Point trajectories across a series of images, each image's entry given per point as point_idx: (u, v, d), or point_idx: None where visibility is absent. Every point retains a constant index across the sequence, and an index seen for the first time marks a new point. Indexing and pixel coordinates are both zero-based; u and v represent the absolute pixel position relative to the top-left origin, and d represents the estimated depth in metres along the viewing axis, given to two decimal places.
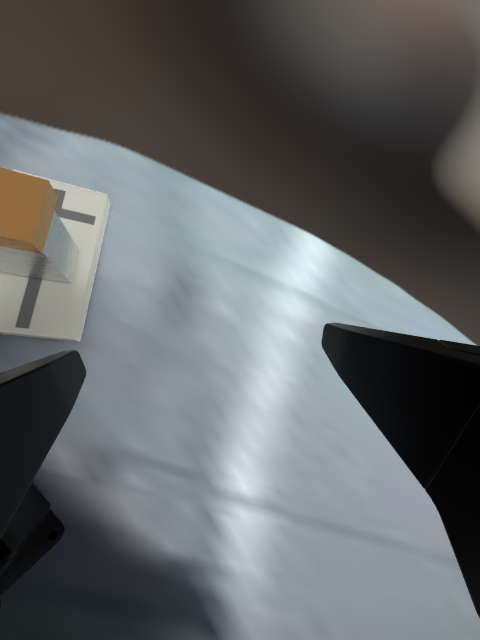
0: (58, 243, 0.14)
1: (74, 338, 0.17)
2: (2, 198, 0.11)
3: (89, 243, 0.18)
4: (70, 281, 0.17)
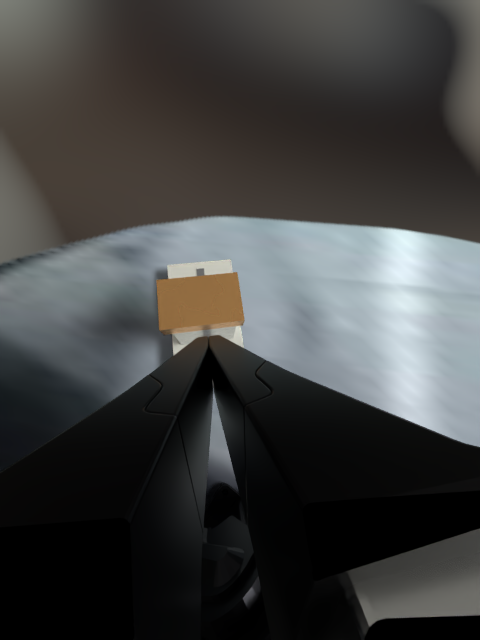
0: None
1: None
2: (217, 295, 0.15)
3: None
4: (233, 336, 0.21)
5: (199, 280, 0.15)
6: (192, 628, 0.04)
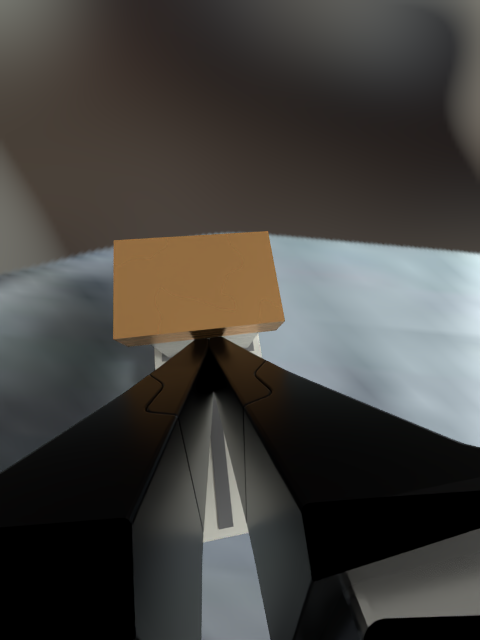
0: None
1: None
2: (231, 272, 0.08)
3: None
4: (247, 346, 0.14)
5: (197, 243, 0.08)
6: (193, 628, 0.04)
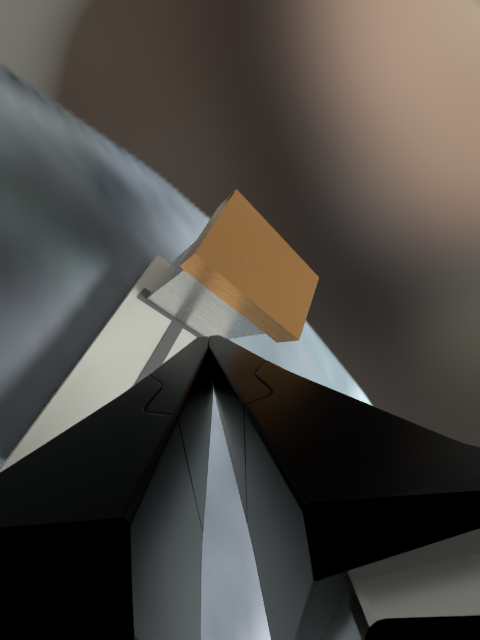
0: None
1: None
2: (288, 282, 0.10)
3: None
4: None
5: (281, 245, 0.10)
6: (192, 628, 0.04)
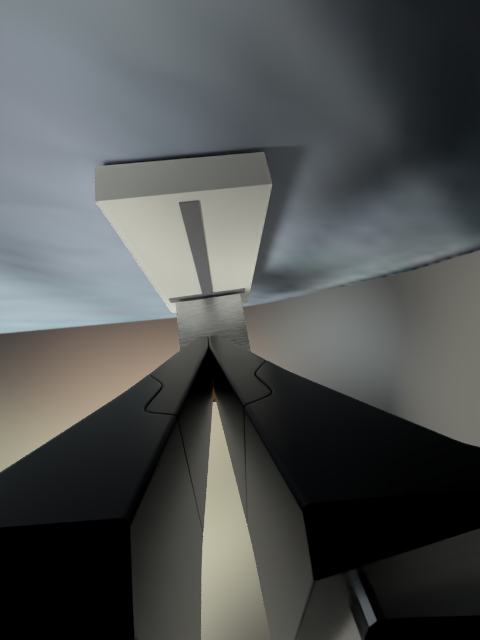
0: None
1: (97, 200, 0.08)
2: None
3: (162, 288, 0.15)
4: (176, 307, 0.16)
5: None
6: (192, 628, 0.04)
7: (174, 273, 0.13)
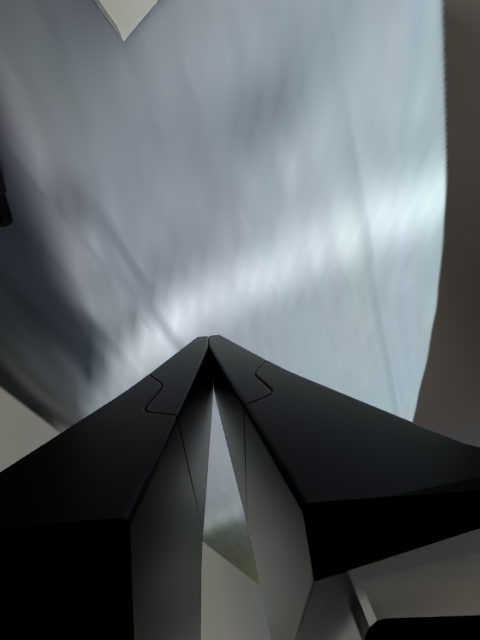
0: None
1: (118, 25, 0.11)
2: None
3: None
4: None
5: None
6: (192, 628, 0.04)
7: None
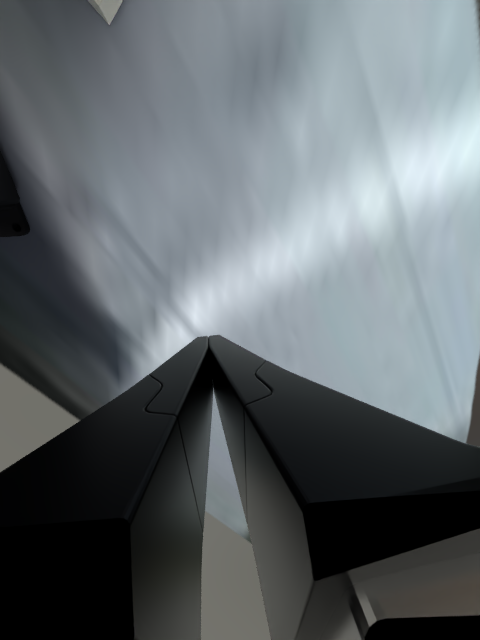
0: None
1: (99, 4, 0.11)
2: None
3: None
4: None
5: None
6: (192, 628, 0.04)
7: None
